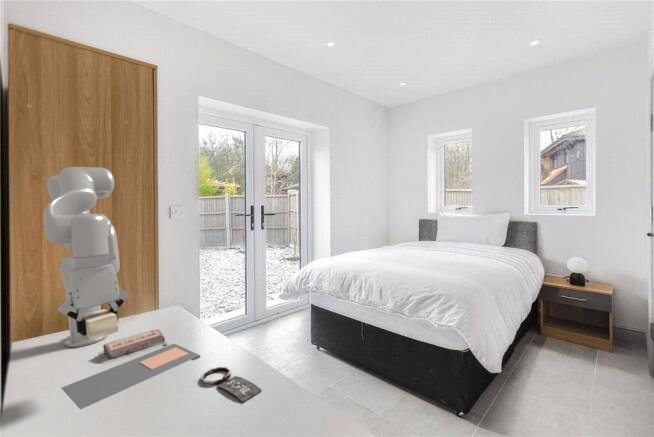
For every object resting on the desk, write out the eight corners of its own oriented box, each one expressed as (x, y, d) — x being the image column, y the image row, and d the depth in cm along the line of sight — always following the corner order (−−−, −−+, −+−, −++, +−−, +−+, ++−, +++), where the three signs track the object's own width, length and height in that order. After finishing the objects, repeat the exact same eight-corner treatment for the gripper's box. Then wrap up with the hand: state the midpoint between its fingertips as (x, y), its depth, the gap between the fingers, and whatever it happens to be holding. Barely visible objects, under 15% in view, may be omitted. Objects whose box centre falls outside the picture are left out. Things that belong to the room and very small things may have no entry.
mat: (61, 389, 83) (61, 386, 83) (174, 345, 107) (174, 342, 107) (81, 411, 73) (80, 408, 73) (200, 357, 97) (200, 354, 97)
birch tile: (79, 332, 83) (78, 315, 83) (105, 324, 88) (104, 309, 88) (90, 340, 78) (89, 322, 78) (118, 331, 83) (116, 314, 82)
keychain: (237, 408, 72) (237, 400, 72) (195, 381, 84) (195, 374, 84) (264, 391, 78) (263, 383, 78) (221, 369, 90) (221, 362, 90)
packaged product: (158, 325, 114) (166, 333, 106) (159, 338, 114) (167, 347, 107) (96, 342, 102) (101, 352, 94) (98, 357, 102) (102, 368, 94)
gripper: (123, 255, 91) (129, 316, 92) (45, 267, 77) (52, 338, 78) (134, 257, 86) (140, 321, 87) (53, 270, 73) (60, 346, 74)
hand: (98, 329), depth 83 cm, fingers closed on birch tile, 6 cm apart
